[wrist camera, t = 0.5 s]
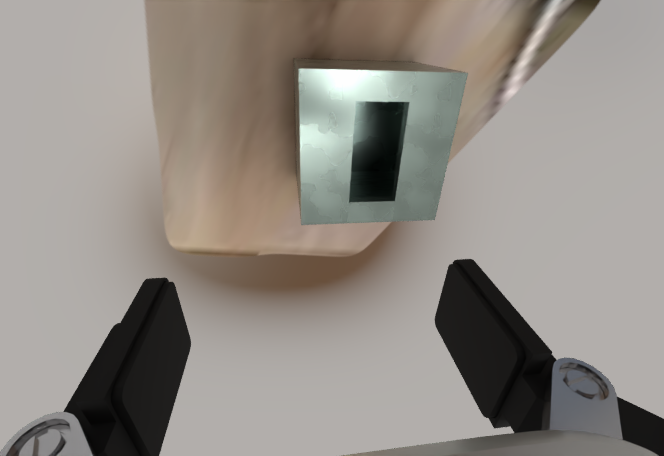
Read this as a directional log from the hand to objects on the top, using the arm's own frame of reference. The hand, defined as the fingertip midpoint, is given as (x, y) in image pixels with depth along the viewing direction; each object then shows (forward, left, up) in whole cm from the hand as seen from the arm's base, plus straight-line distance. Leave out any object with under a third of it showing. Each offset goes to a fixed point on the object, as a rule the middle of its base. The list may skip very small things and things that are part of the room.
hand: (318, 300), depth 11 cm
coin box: (0, +6, -26) cm, 27 cm away
